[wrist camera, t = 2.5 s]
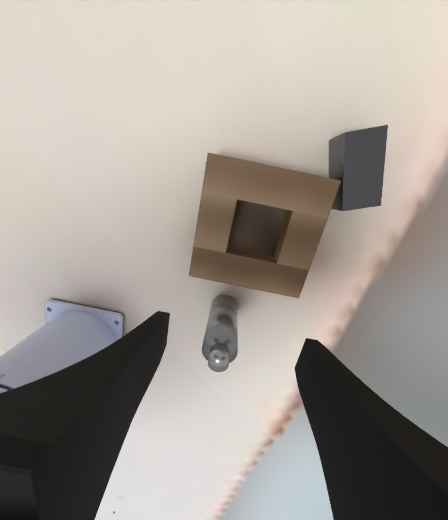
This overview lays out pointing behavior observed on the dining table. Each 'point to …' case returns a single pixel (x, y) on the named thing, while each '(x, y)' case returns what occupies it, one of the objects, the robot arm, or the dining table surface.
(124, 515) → the dining table surface
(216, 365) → the round bit
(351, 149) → the square bar
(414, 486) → the robot arm
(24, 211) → the dining table surface
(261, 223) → the socket block
